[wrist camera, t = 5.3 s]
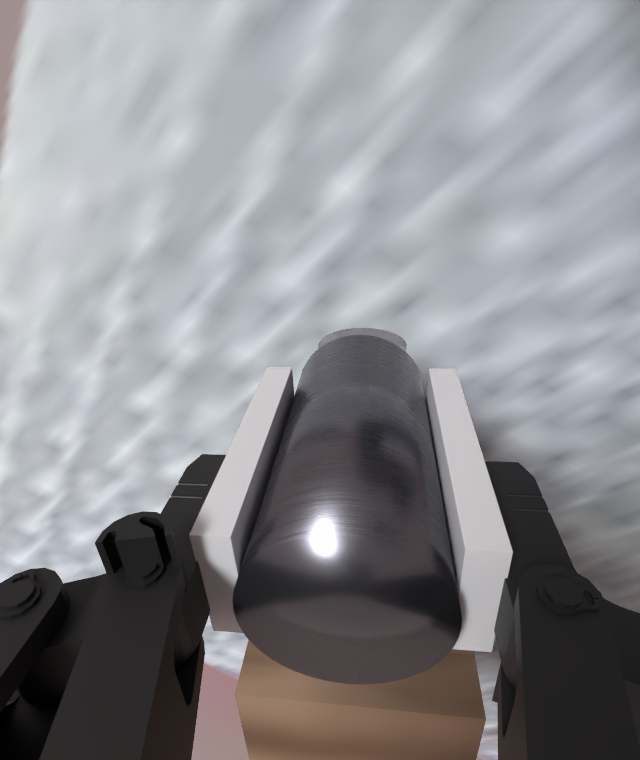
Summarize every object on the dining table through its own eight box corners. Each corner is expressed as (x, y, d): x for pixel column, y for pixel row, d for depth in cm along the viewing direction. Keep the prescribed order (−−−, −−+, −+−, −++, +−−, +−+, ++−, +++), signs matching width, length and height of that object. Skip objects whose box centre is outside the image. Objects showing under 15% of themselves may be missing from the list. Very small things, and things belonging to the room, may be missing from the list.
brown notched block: (285, 493, 30) (235, 693, 19) (446, 501, 28) (485, 719, 18) (292, 558, 32) (250, 764, 22) (438, 568, 31) (468, 790, 21)
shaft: (308, 302, 17) (217, 529, 7) (419, 302, 17) (476, 544, 7) (326, 648, 27) (297, 937, 17) (396, 654, 27) (405, 954, 17)
